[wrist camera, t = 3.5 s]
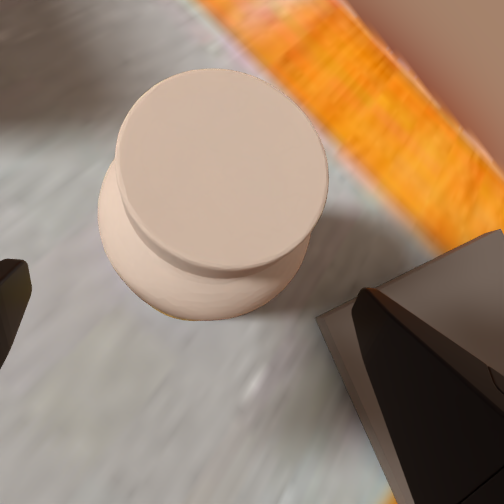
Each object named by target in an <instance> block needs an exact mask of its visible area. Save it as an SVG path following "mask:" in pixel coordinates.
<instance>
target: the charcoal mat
mask: <svg viewBox="0 0 504 504" xmlns="http://www.w3.org/2000/svg"><path fill="white" fill-rule="evenodd" d="M375 289H378V290H379V291H381V292H382V293H384V294H385V295H386V296H388V297H389V298H391V299H392V300H394V301H395V302H397V303H398V304H400V305H401V306H402V307H404V308H405V309H407V310H408V311H410V312H411V313H413V314H414V315H416V316H417V317H419V318H420V319H421V320H423V321H424V322H426V323H427V324H429V325H430V326H432V327H433V328H435V329H436V330H437V331H439V332H440V333H442V334H443V335H445V336H446V337H448V338H449V339H451V340H452V341H453V342H455V343H456V344H458V345H459V346H461V347H462V348H464V349H465V350H467V351H468V352H469V353H471V354H472V355H474V356H475V357H477V358H478V359H480V360H481V361H483V362H484V363H486V364H487V366H490V367H491V368H493V369H494V370H496V371H497V372H499V373H500V374H502V375H503V376H504V235H503V233H502V231H501V229H499V230H495V231H491V232H488V233H485V234H483V235H481V236H479V237H477V238H475V239H473V240H471V241H469V242H467V243H465V244H463V245H461V246H459V247H457V248H455V249H453V250H451V251H449V252H447V253H445V254H443V255H441V256H439V257H437V258H435V259H433V260H430V261H428V262H426V263H424V264H422V265H420V266H418V267H416V268H414V269H412V270H410V271H408V272H406V273H404V274H402V275H400V276H398V277H396V278H394V279H392V280H390V281H388V282H386V283H384V284H382V285H380V286H378V287H376V288H375ZM356 298H357V297H356ZM356 298H354V299H352V300H350V301H348V302H346V303H344V304H342V305H340V306H338V307H336V308H334V309H332V310H330V311H328V312H326V313H324V314H322V315H320V316H318V317H316V318H315V319H316V321H317V323H318V326H319V328H320V330H321V332H322V335H323V337H324V339H325V341H326V344H327V346H328V348H329V350H330V353H331V355H332V357H333V359H334V362H335V364H336V366H337V368H338V371H339V373H340V375H341V377H342V380H343V382H344V384H345V386H346V389H347V391H348V393H349V395H350V398H351V400H352V402H353V404H354V407H355V409H356V411H357V413H358V416H359V418H360V420H361V422H362V425H363V427H364V429H365V431H366V433H367V436H368V438H369V440H370V442H371V445H372V447H373V449H374V451H375V454H376V456H377V458H378V460H379V463H380V465H381V467H382V469H383V472H384V474H385V476H386V478H387V481H388V483H389V485H390V487H391V490H392V492H393V494H394V496H395V499H396V501H397V503H398V504H414V501H413V498H412V496H411V493H410V490H409V487H408V485H407V482H406V479H405V476H404V473H403V471H402V468H401V465H400V462H399V460H398V457H397V454H396V451H395V449H394V446H393V443H392V440H391V438H390V435H389V432H388V429H387V426H386V424H385V421H384V418H383V415H382V413H381V410H380V407H379V404H378V402H377V399H376V396H375V393H374V391H373V388H372V385H371V382H370V379H369V377H368V374H367V371H366V368H365V365H364V362H363V359H362V356H361V352H360V348H359V344H358V340H357V336H356V332H355V328H354V324H353V319H352V315H351V310H352V307H353V305H354V302H355V300H356Z"/></svg>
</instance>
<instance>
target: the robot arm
mask: <svg viewBox="0 0 504 504" xmlns="http://www.w3.org/2000/svg"><path fill="white" fill-rule="evenodd" d="M31 292H32V285H31V280H30V274H29V269H28V264H27V262H26V261H24V260H19V259H4V260H2V261H0V369H1V367H2V365H3V363H4V361H5V359H6V357H7V355H8V353H9V351H10V349H11V346H12V344H13V342H14V339H15V336H16V334H17V331H18V328H19V326H20V323H21V320H22V318H23V315H24V312H25V310H26V307H27V304H28V302H29V299H30V296H31ZM351 315H352V319H353V324H354V328H355V332H356V336H357V340H358V344H359V348H360V352H361V356H362V359H363V362H364V365H365V368H366V371H367V374H368V377H369V379H370V382H371V385H372V388H373V391H374V393H375V396H376V399H377V402H378V404H379V407H380V410H381V413H382V415H383V418H384V421H385V424H386V426H387V429H388V432H389V435H390V438H391V440H392V443H393V446H394V449H395V451H396V454H397V457H398V460H399V462H400V465H401V468H402V471H403V473H404V476H405V479H406V482H407V485H408V487H409V490H410V493H411V496H412V498H413V501H414V504H504V376H503V375H502V374H500V373H499V372H497V371H496V370H494V369H493V368H491V367H490V366H487V364H486V363H484V362H483V361H481V360H480V359H478V358H477V357H475V356H474V355H472V354H471V353H469V352H468V351H467V350H465V349H464V348H462V347H461V346H459V345H458V344H456V343H455V342H453V341H452V340H451V339H449V338H448V337H446V336H445V335H443V334H442V333H440V332H439V331H437V330H436V329H435V328H433V327H432V326H430V325H429V324H427V323H426V322H424V321H423V320H421V319H420V318H419V317H417V316H416V315H414V314H413V313H411V312H410V311H408V310H407V309H405V308H404V307H402V306H401V305H400V304H398V303H397V302H395V301H394V300H392V299H391V298H389V297H388V296H386V295H385V294H384V293H382V292H381V291H379V290H378V289H375V288H362V289H361V290H360V292H359V294H358V296H357V298H356V300H355V302H354V305H353V307H352V310H351Z"/></svg>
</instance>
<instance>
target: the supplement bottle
mask: <svg viewBox="0 0 504 504" xmlns="http://www.w3.org/2000/svg"><path fill="white" fill-rule="evenodd" d="M328 183H329V174H328V163H327V158H326V154H325V150H324V147H323V145H322V142H321V139H320V137H319V135H318V133H317V131H316V130H315V128H314V126H313V124H312V123H311V121H310V120H309V118H308V117H307V116H306V114H305V113H304V112H303V111H302V110H301V109H300V107H299V106H298V105H297V104H296V103H294V102H293V101H292V100H291V99H290V98H289V97H288V96H286V95H285V94H284V93H283V92H281V91H280V90H278V89H277V88H275V87H274V86H272V85H271V84H269V83H267V82H265V81H263V80H261V79H259V78H256V77H254V76H251V75H248V74H245V73H241V72H238V71H233V70H226V69H199V70H191V71H187V72H183V73H180V74H177V75H174V76H172V77H169V78H167V79H165V80H163V81H161V82H159V83H157V84H156V85H155V86H153V87H152V88H151V89H149V90H148V91H147V92H146V93H144V94H143V95H142V96H141V97H140V98H139V99H138V100H137V102H136V103H135V104H134V105H133V107H132V108H131V110H130V111H129V112H128V114H127V116H126V117H125V120H124V122H123V124H122V126H121V128H120V131H119V134H118V138H117V144H116V151H115V159H114V160H113V162H112V163H111V165H110V167H109V169H108V171H107V173H106V175H105V178H104V180H103V183H102V187H101V191H100V195H99V202H98V226H99V231H100V236H101V240H102V243H103V247H104V250H105V252H106V254H107V257H108V258H109V260H110V262H111V264H112V266H113V268H114V269H115V271H116V272H117V273H118V275H119V276H120V278H121V279H122V280H123V281H124V282H125V283H126V285H127V286H128V287H129V288H130V289H131V290H132V291H133V292H134V293H135V294H136V295H137V296H138V297H140V298H141V299H142V300H143V301H145V302H146V303H148V304H149V305H150V306H152V307H153V308H154V309H156V310H157V311H159V312H161V313H163V314H165V315H167V316H170V317H173V318H176V319H180V320H188V321H212V320H222V319H229V318H234V317H237V316H240V315H244V314H246V313H249V312H251V311H253V310H255V309H257V308H259V307H261V306H263V305H265V304H266V303H267V302H269V301H270V300H272V299H273V298H274V297H275V296H277V295H278V294H279V293H280V292H281V291H282V290H283V289H284V288H285V287H286V286H287V285H288V284H289V282H290V281H291V280H292V278H293V277H294V276H295V274H296V273H297V271H298V269H299V268H300V266H301V264H302V261H303V259H304V257H305V254H306V251H307V247H308V244H309V240H310V234H311V232H312V230H313V229H314V227H315V225H316V224H317V222H318V220H319V218H320V216H321V214H322V212H323V209H324V207H325V203H326V199H327V193H328Z"/></svg>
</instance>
